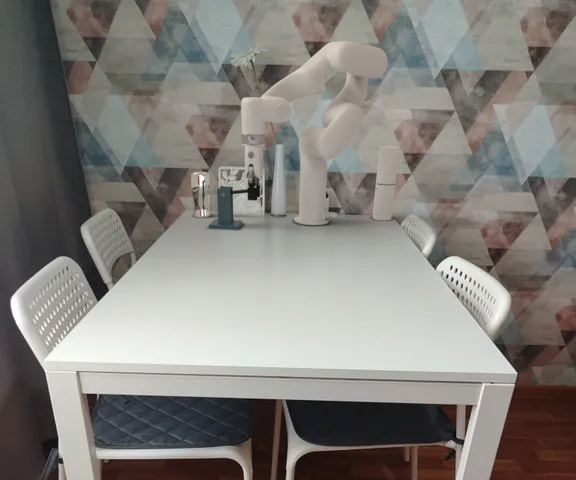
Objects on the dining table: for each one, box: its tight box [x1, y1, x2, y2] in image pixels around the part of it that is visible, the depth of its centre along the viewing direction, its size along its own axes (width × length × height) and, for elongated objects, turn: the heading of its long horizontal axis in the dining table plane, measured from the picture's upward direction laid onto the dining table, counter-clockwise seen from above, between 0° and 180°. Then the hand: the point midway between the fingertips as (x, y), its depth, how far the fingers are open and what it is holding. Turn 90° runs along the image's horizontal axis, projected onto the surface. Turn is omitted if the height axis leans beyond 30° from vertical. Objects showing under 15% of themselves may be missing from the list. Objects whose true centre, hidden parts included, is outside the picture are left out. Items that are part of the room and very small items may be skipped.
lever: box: [230, 187, 257, 195], centre depth 186 cm, size 12×5×2 cm, turn 85°
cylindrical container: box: [372, 145, 400, 221], centre depth 203 cm, size 7×7×25 cm
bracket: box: [208, 185, 244, 231], centre depth 188 cm, size 10×9×13 cm
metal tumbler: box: [190, 171, 211, 219], centre depth 201 cm, size 7×7×15 cm
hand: (253, 198), depth 186 cm, fingers closed on lever, 5 cm apart
